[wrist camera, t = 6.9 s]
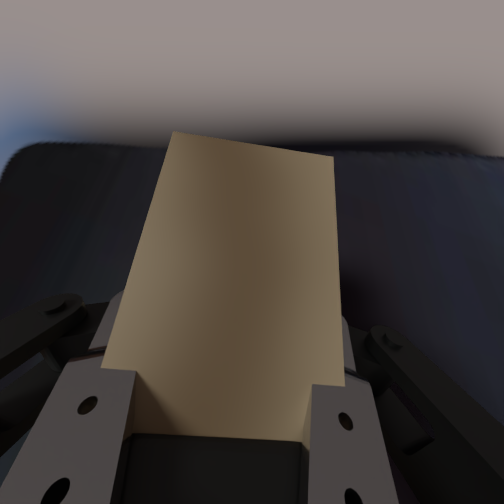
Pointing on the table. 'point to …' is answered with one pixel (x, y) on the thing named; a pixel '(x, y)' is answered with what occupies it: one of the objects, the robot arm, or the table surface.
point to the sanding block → (232, 293)
